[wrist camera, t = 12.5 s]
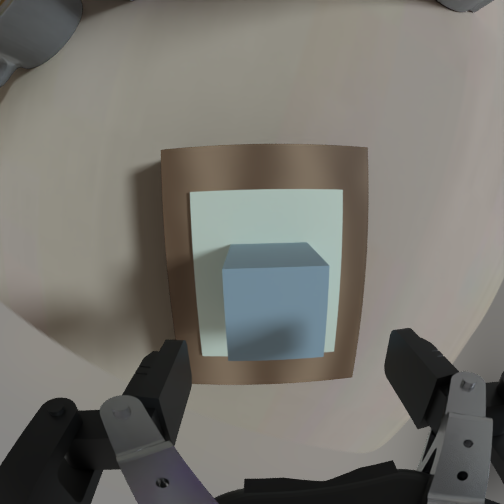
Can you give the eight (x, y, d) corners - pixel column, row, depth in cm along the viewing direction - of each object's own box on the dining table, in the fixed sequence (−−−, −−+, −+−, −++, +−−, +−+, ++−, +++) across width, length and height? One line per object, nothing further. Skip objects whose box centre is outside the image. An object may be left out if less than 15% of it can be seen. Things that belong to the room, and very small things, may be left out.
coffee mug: (51, -8, 17) (9, -42, 8) (99, 1, 18) (54, -46, 9) (-9, 84, 20) (-64, 70, 10) (27, 107, 21) (-40, 91, 11)
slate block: (306, 242, 20) (329, 265, 14) (305, 312, 21) (323, 356, 15) (230, 244, 20) (222, 269, 14) (234, 314, 21) (228, 361, 15)
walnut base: (349, 153, 22) (369, 147, 18) (340, 353, 26) (353, 379, 22) (175, 155, 22) (159, 149, 18) (191, 358, 26) (182, 385, 22)
